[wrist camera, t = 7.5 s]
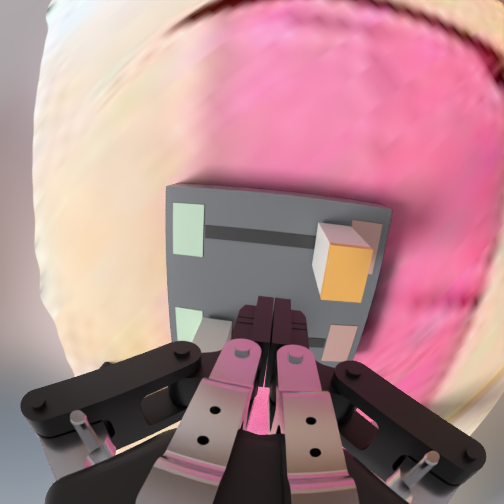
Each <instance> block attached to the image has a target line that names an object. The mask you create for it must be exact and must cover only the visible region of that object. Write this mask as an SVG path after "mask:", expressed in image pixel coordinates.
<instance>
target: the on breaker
mask: <svg viewBox="0 0 504 504" xmlns="http://www.w3.org/2000/svg"><path fill="white" fill-rule="evenodd" d="M231 331H232V321H225V320H218V319H210V318H204V317H203V319H202V321H201V324H200V326H199V328H198V330H197V332H196V334H195V336H194V339H193V341H192V343H194V344H196V345H197V346H198V347H199V348H200V350H201V353H204V352H216V351H219V350H222V349H223V346H224V345H225V344H226V343H227V342H228V341H230V340H231Z"/></svg>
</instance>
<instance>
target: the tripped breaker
mask: <svg viewBox="0 0 504 504" xmlns="http://www.w3.org/2000/svg"><path fill="white" fill-rule="evenodd" d="M372 254H373V249H372V248H371V247H370V246H369V245H368V244H367V243H366V242H365V241H364V240H363V238H362V237H361V236H360V235H359V234H358V233H357V232H356V231H355V230H354V229H353V228H352V227H351V226H344V225H336V224H328V223H319V222H318V228H317V235H316V242H315V248H314V255H313V261H312V267H313V271H314V275H315V278H316V282H317V286H318V290H319V294H320V298H321V300H332V301H344V302H358V303H361V300H362V296H363V292H364V288H365V284H366V280H367V276H368V272H369V268H370V263H371V259H372Z"/></svg>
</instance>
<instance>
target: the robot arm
mask: <svg viewBox="0 0 504 504" xmlns="http://www.w3.org/2000/svg"><path fill="white" fill-rule="evenodd" d="M273 303H274V310H273ZM272 314H273V317H272ZM267 358H268V359H267ZM266 364H267V369H266ZM265 371H266V378H265V387H269V388H270V392H269V398H268V435H257V434H254V433H251V432H248V431H247V427H248V424H249V420H250V416H251V412H252V408H253V405H254V400H255V397H256V395H257V392H258V386H259V387H263V383H264V377H265ZM166 386H168V388H166V389H164V390H161V391H159V392H157V393H155V394H152V395H150V396H148V397H145V396H146V395H148V394H151V393H153V392H155V391H157V390H160V389H162V388H164V387H166ZM144 397H145V398H144ZM357 408H359V409H360V410H361V411H362V412H364V413H365V414H366V415H367V416H369V417H370V418H371V419H372V420H374V421H373V422H372V423H370V422H369V421H368V420H366V419H365V418H364V417H363V416H361V415H360V414H359V413H358V412H357V411H356V409H357ZM21 411H22V413H23V415H24V416H25V418H26V419H27V421H28V422H29V424H30V425H31V427H32V429H33V431H34V432H35V434H36V435H37V436H38V438H39V439H40V441H41V444H42V447H43V449H44V452H45V455H46V457H47V460H48V462H49V465H50V467H51V470H52V472H53V474H54V477H55V479H56V482H55V483H53V485H52V486H51V487H50V489H49V490H48V492H47V495H46V498H45V504H447V503H448V502H449V501H450V499H451V498H452V496H453V495H454V493H455V492H456V490H457V489H458V487H460V486H461V485H462V484H463V483H465V482H466V481H467V480H468V479H469V478H470V477H471V476H473V475H474V474H475V473H476V472H477V471H478V470H480V469H481V468H482V467H483V465H484V463H485V461H486V452H485V449H484V447H483V446H482V445H481V444H480V443H479V442H478V441H476V440H475V439H473V438H472V437H470V436H468V435H467V434H465V433H464V432H462V431H461V430H459V429H458V428H456V427H455V426H453V425H452V424H450V423H448V422H447V421H445V420H444V419H442V418H441V417H439V416H438V415H436V414H435V413H433V412H432V411H430V410H429V409H427V408H426V407H424V406H423V405H422V404H420V403H419V402H417V401H416V400H414V399H413V398H411V397H410V396H408V395H407V394H405V393H404V392H402V391H401V390H400V389H398V388H397V387H395V386H394V385H392V384H391V383H389V382H388V381H387V380H385V379H384V378H382V377H381V376H379V375H378V374H377V373H375V372H374V371H372V370H371V369H369V368H368V367H367V366H365V365H364V364H362V363H360V362H357V361H342V362H340V363H339V364H337V365H336V367H335V368H333V367H330V366H326V365H323V364H321V363H319V362H318V361H316V360H315V357H314V354H313V353H312V352H311V351H310V350H309V340H308V331H307V321H306V316H305V315H304V314H303V313H302V312H301V311H298V310H291V299H284V298H276V297H275V302H274V297H267V296H258V300H257V306H254V305H244V306H243V307H242V308H241V309H240V310H239V313H238V317H237V320H236V323H235V326H234V330H233V333H232V336H231V340H230V341H228V342H227V343H226V344H225V345H224V346H223V349H222V350H219V351H216V352H204V353H201V350H200V348H199V347H198V346H197V345H196V344H194V343H192V342H189V341H175V342H171V343H169V344H166V345H164V346H161V347H159V348H156V349H153V350H151V351H148V352H145V353H143V354H140V355H137V356H135V357H132V358H129V359H126V360H124V361H121V362H118V363H115V364H112V365H109V366H107V367H104V368H101V369H98V370H95V371H92V372H89V373H86V374H83V375H80V376H77V377H74V378H71V379H67V380H64V381H61V382H58V383H55V384H51V385H48V386H45V387H41V388H38V389H34V390H32V391H30V392H28V393H27V394H26V395H25V396H24V397H23V399H22V401H21ZM180 420H181V422H180V424H179V426H178V428H175V429H171V430H168V431H165V432H163V433H160V434H158V435H156V436H154V437H153V438H151V439H149V440H147V441H145V442H143V443H141V444H139V445H137V446H135V447H132V448H130V449H128V450H126V451H124V452H122V453H120V454H117V455H115V453H116V450H118V449H120V448H122V447H125V446H127V445H129V444H132V443H134V442H136V441H138V440H141V439H143V438H145V437H147V436H149V435H152V434H154V433H156V432H158V431H160V430H162V429H164V428H166V427H168V426H170V425H172V424H174V423H176V422H178V421H180ZM342 446H343V447H344V448H345V449H346V450H345V449H343V448H342ZM370 470H371V471H372V472H371V471H370Z"/></svg>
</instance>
